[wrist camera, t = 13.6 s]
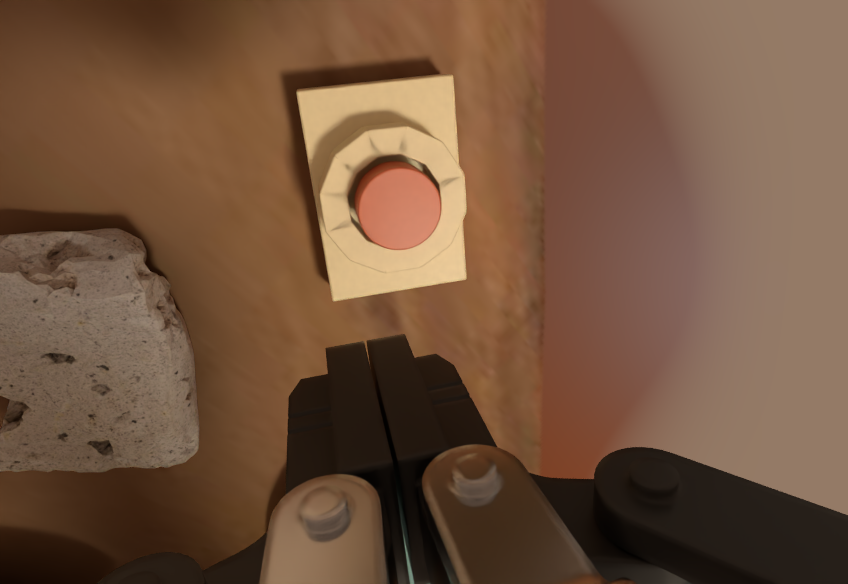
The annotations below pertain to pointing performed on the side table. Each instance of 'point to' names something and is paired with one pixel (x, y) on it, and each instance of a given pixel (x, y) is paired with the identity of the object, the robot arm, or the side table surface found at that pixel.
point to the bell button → (397, 205)
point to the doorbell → (374, 144)
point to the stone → (91, 356)
